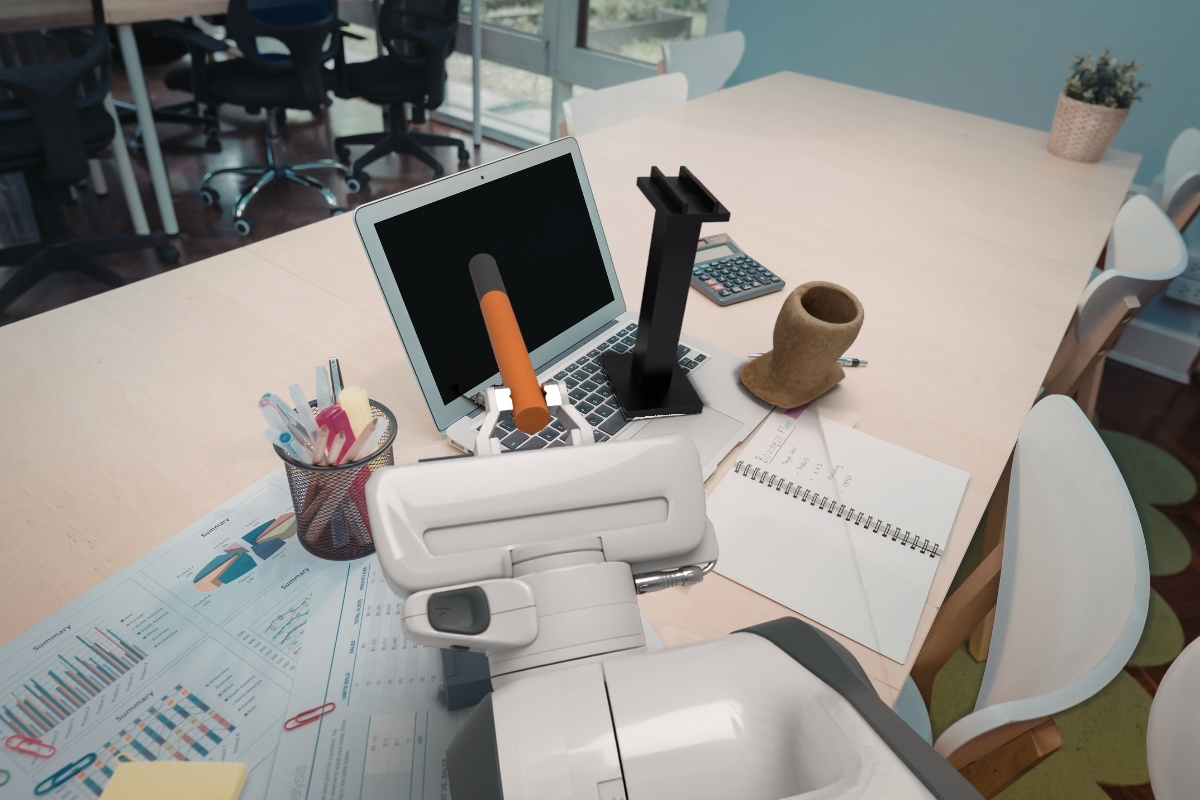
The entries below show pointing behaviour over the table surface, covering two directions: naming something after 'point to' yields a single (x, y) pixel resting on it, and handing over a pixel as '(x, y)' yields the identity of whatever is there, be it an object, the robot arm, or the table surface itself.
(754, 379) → the stone cup
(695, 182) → the headphone stand
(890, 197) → the table surface
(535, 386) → the orange marker pen
